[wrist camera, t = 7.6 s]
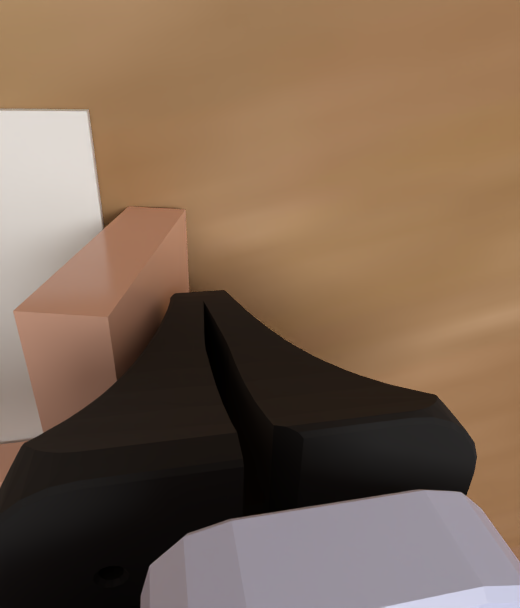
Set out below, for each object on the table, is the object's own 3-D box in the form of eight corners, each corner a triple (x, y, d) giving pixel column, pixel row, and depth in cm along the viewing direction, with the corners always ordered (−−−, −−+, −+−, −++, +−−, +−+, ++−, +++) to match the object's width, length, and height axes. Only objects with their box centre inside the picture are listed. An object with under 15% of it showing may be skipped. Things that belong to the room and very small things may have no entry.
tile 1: (191, 346, 15) (134, 503, 10) (137, 343, 15) (52, 497, 10) (185, 209, 13) (107, 317, 8) (123, 206, 13) (3, 310, 8)
